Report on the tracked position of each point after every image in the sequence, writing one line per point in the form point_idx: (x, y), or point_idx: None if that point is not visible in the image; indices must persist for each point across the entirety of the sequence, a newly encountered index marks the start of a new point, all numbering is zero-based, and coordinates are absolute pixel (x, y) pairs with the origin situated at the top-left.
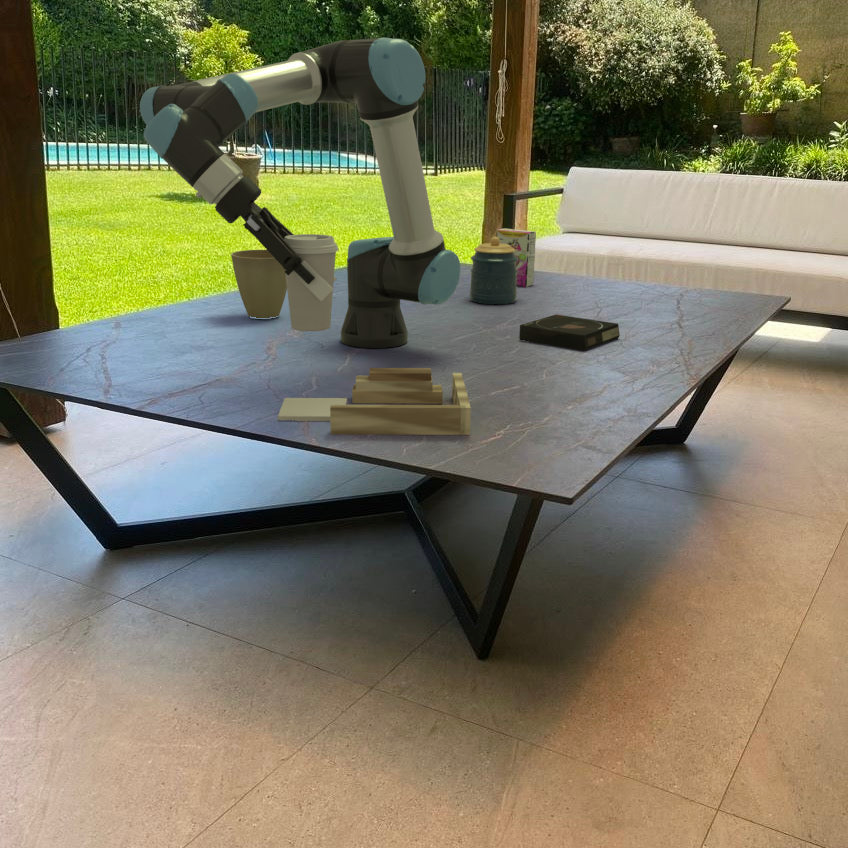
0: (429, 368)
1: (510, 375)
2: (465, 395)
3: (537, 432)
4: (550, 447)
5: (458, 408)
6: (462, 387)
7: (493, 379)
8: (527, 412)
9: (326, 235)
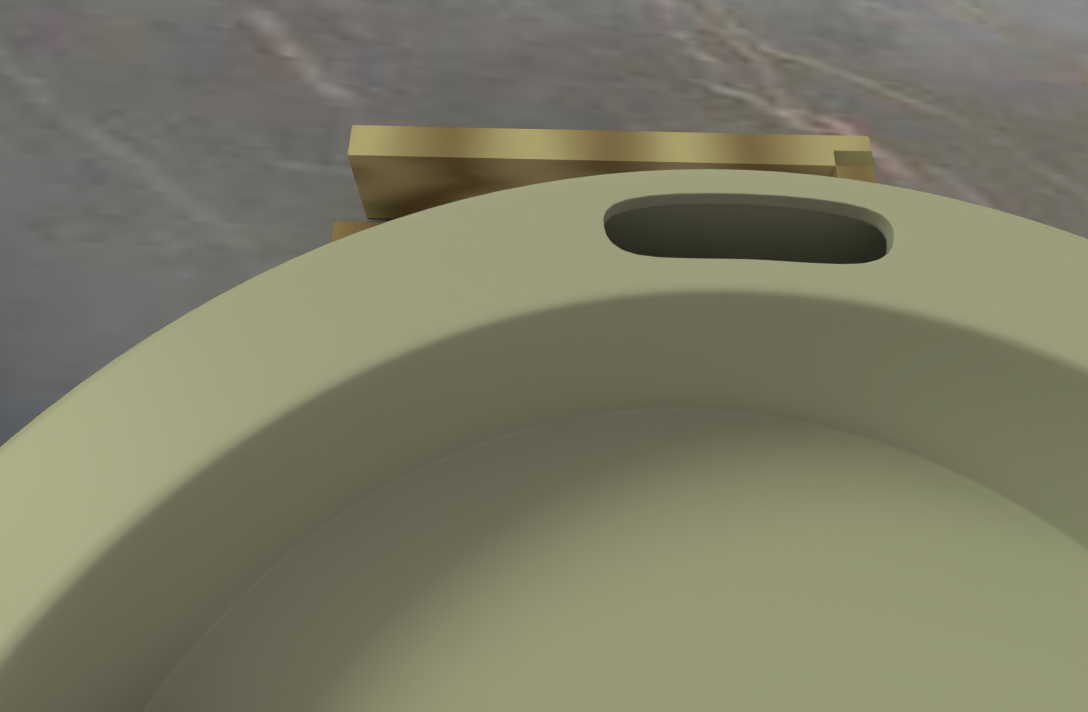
0: (338, 226)
1: (101, 18)
2: (699, 138)
3: (781, 29)
4: (919, 19)
5: (874, 174)
6: (580, 139)
7: (143, 71)
8: (572, 27)
9: (179, 391)
